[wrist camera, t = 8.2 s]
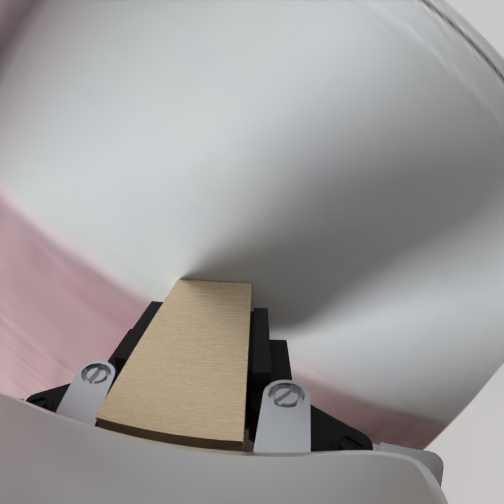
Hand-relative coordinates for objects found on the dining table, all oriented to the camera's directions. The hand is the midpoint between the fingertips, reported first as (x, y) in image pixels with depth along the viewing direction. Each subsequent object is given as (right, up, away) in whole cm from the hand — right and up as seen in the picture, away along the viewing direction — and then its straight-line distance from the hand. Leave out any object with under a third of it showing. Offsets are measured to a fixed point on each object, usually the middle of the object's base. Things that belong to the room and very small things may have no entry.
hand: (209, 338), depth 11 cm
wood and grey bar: (0, -9, +5) cm, 11 cm away
